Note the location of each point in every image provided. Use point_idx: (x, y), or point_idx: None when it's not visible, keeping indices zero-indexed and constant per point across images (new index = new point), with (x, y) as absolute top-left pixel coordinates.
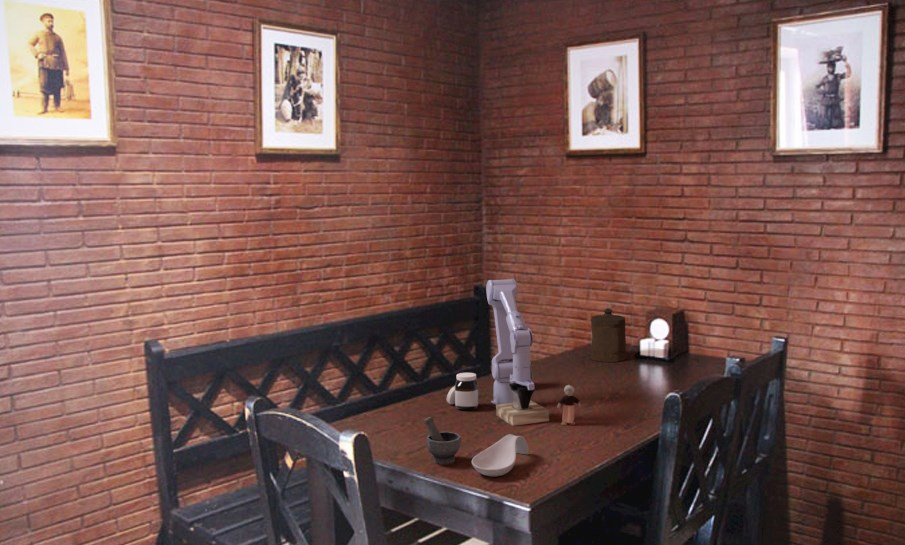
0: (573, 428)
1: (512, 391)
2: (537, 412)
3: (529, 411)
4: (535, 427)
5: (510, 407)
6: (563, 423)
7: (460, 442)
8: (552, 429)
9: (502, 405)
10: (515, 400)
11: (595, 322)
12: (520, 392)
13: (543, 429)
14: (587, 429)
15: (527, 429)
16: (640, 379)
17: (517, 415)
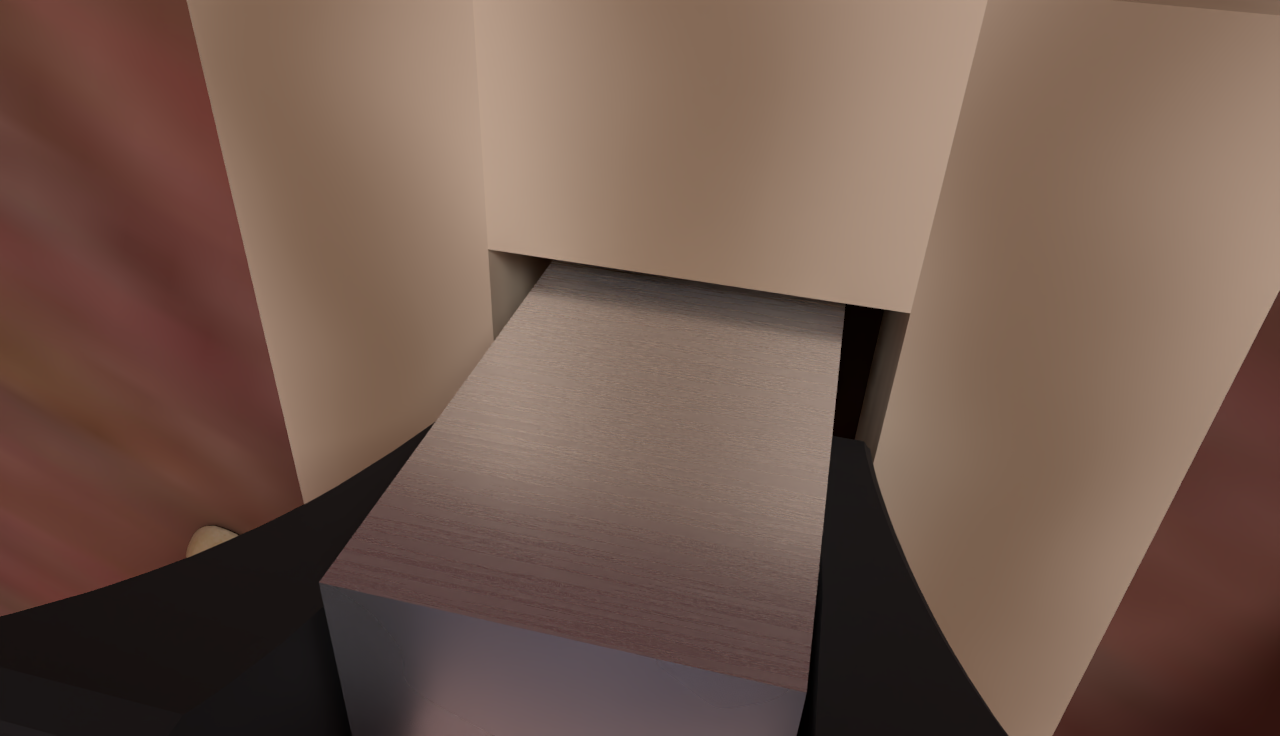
0: (72, 531)
1: (790, 651)
2: (305, 475)
3: (367, 400)
4: (167, 208)
5: (842, 255)
6: (189, 546)
7: None
8: (53, 343)
9: (1182, 182)
10: (608, 418)
11: None
12: (63, 612)
13: (61, 249)
14: (30, 597)
15: (80, 33)
16: None
17: (213, 57)
